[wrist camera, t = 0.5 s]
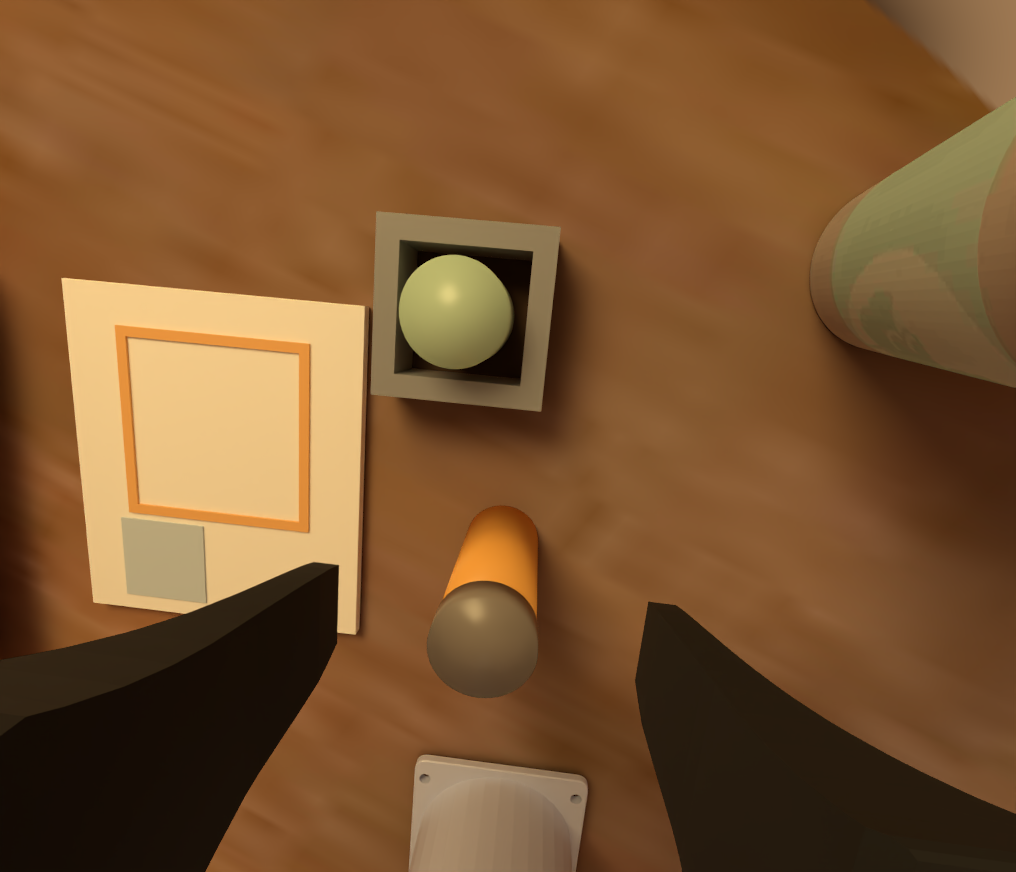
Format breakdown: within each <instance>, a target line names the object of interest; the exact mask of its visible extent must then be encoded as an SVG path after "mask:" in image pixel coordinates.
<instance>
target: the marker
mask: <svg viewBox="0 0 1016 872" xmlns="http://www.w3.org/2000/svg"><path fill="white" fill-rule="evenodd" d="M537 576H538V534H537V530H536V527H535V525H534V523H533V522H532V520H531V519H530V518H529V517H528V516H527V515H526V514H525V513H523V512H522V511H520V510H518V509H516V508H513V507H510V506H494V507H490V508H487V509H485V510H483V511H482V512H480V513H479V514H478V515H477V516H476V517H475V518H474V519H473V521H472V522H471V524H470V526H469V529H468V531H467V534H466V537H465V540H464V542H463V545H462V548H461V551H460V553H459V556H458V559H457V562H456V564H455V567H454V570H453V573H452V575H451V578H450V581H449V584H448V586H447V589H446V592H445V595H444V597H443V600H442V602H441V603H440V605H439V607H438V609H437V612H436V614H435V617H434V620H433V622H432V625H431V628H430V631H429V634H428V638H427V653H428V657H429V661H430V663H431V665H432V668H433V669H434V671H435V672H436V674H437V675H438V676H439V678H440V679H441V680H442V681H443V682H444V683H445V684H447V685H448V686H449V687H451V688H452V689H454V690H456V691H458V692H460V693H462V694H465V695H468V696H472V697H477V698H494V697H499V696H503V695H506V694H508V693H511V692H513V691H514V690H516V689H518V688H519V687H520V686H522V685H523V684H524V683H525V682H526V681H527V680H528V678H529V677H530V676H531V674H532V672H533V671H534V669H535V666H536V663H537V658H538V622H537Z"/></svg>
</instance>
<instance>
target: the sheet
mask: <svg viewBox="0 0 1016 872" xmlns="http://www.w3.org/2000/svg"><path fill="white" fill-rule="evenodd" d="M62 287H63V297H64V307H65V318H66V328H67V338H68V348H69V358H70V369H71V379H72V389H73V399H74V409H75V419H76V430H77V440H78V450H79V460H80V470H81V480H82V491H83V501H84V511H85V521H86V531H87V542H88V552H89V562H90V572H91V582H92V592H93V602H95V603H103V604H111V605H119V606H127V607H135V608H143V609H152V610H160V611H168V612H176V613H184V614H186V613H189V612H192V611H194V610H197V609H200V608H202V607H205V606H207V605H210V604H212V603H215V602H217V601H220V600H222V599H225V598H227V597H230V596H232V595H235V594H237V593H240V592H242V591H244V590H247V589H249V588H251V587H254V586H256V585H258V584H260V583H263V582H265V581H267V580H270V579H272V578H274V577H276V576H279V575H281V574H283V573H286V572H288V571H290V570H293V569H295V568H298V567H300V566H303V565H306V564H309V563H312V562H319V563H327V564H335V565H339V587H338V625H337V632H338V633H346V634H354V635H356V633H357V631H358V630H359V628H360V595H361V562H362V529H363V495H364V462H365V429H366V396H367V363H368V330H369V307H368V306H358V305H347V304H336V303H326V302H315V301H304V300H293V299H283V298H272V297H261V296H251V295H240V294H229V293H219V292H208V291H197V290H186V289H176V288H165V287H154V286H144V285H133V284H122V283H111V282H101V281H90V280H79V279H69V278H62Z"/></svg>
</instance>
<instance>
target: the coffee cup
mask: <svg viewBox="0 0 1016 872" xmlns="http://www.w3.org/2000/svg"><path fill="white" fill-rule="evenodd" d="M810 290H811V296H812V300H813V303H814V306H815V309H816V311H817V313H818V315H819V317H820V318H821V320H822V321H823V323H824V324H825V325H826V326H827V328H828V329H829V330H830V331H831V332H832V333H834V334H835V335H836V336H837V337H839V338H840V339H842V340H843V341H845V342H847V343H849V344H851V345H853V346H856V347H859V348H862V349H866V350H870V351H874V352H878V353H881V354H885V355H889V356H892V357H896V358H900V359H904V360H908V361H912V362H916V363H920V364H923V365H927V366H931V367H935V368H939V369H943V370H947V371H951V372H955V373H959V374H962V375H966V376H970V377H974V378H978V379H982V380H986V381H990V382H994V383H998V384H1001V385H1005V386H1009V387H1013V388H1016V97H1015V98H1013V99H1012V100H1010V101H1008V102H1007V103H1005V104H1004V105H1002V106H1000V107H999V108H997V109H996V110H994V111H992V112H991V113H989V114H988V115H986V116H984V117H983V118H981V119H980V120H978V121H976V122H975V123H973V124H972V125H970V126H968V127H967V128H965V129H964V130H962V131H960V132H959V133H957V134H956V135H954V136H952V137H951V138H949V139H948V140H946V141H944V142H943V143H941V144H940V145H938V146H936V147H935V148H933V149H932V150H930V151H928V152H927V153H925V154H924V155H922V156H920V157H919V158H917V159H916V160H914V161H912V162H911V163H909V164H908V165H906V166H904V167H903V168H901V169H900V170H898V171H896V172H895V173H893V174H892V175H890V176H889V177H887V178H886V179H884V180H882V181H881V182H879V183H878V184H876V185H875V186H873V187H871V188H870V189H868V190H867V191H865V192H864V193H862V194H860V195H859V196H857V197H856V198H854V199H853V200H852V201H850V202H849V203H848V204H847V205H845V206H844V207H843V208H842V209H841V210H840V211H839V212H838V213H837V214H836V215H835V216H834V218H833V219H832V220H831V221H830V223H829V224H828V225H827V227H826V228H825V230H824V232H823V233H822V235H821V237H820V239H819V241H818V243H817V246H816V248H815V251H814V254H813V258H812V263H811V269H810Z"/></svg>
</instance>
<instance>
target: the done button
mask: <svg viewBox="0 0 1016 872" xmlns="http://www.w3.org/2000/svg"><path fill="white" fill-rule="evenodd" d="M399 319H400V325H401V328H402V331H403V334H404V336H405V338H406V340H407V342H408V343H409V345H410V346H411V347H412V349H413V350H414V351H415V352H416V353H417V354H418V355H419V356H420V357H422V358H423V359H424V360H426V361H427V362H429V363H431V364H433V365H435V366H438V367H442V368H447V369H464V368H468V367H472V366H474V365H477V364H479V363H481V362H483V361H484V360H486V359H488V358H490V357H491V356H493V355H494V354H496V353H497V352H498V351H499V350H500V349H501V348H502V347H503V346H504V345H505V343H506V342H507V340H508V339H509V337H510V334H511V332H512V328H513V324H514V307H513V302H512V299H511V296H510V294H509V292H508V290H507V289H506V287H505V286H504V284H503V283H502V282H501V281H500V280H499V279H498V278H497V277H496V275H495V274H494V273H493V272H492V271H491V270H490V269H489V268H487V267H486V266H485V265H484V264H482V263H480V262H479V261H477V260H474V259H472V258H469V257H466V256H461V255H445V256H440V257H436V258H434V259H431V260H429V261H427V262H425V263H424V264H422V265H421V266H420V267H419V268H417V269H416V270H415V271H414V272H413V273H412V275H411V276H410V277H409V279H408V280H407V282H406V284H405V286H404V288H403V291H402V293H401V297H400V302H399Z"/></svg>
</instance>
